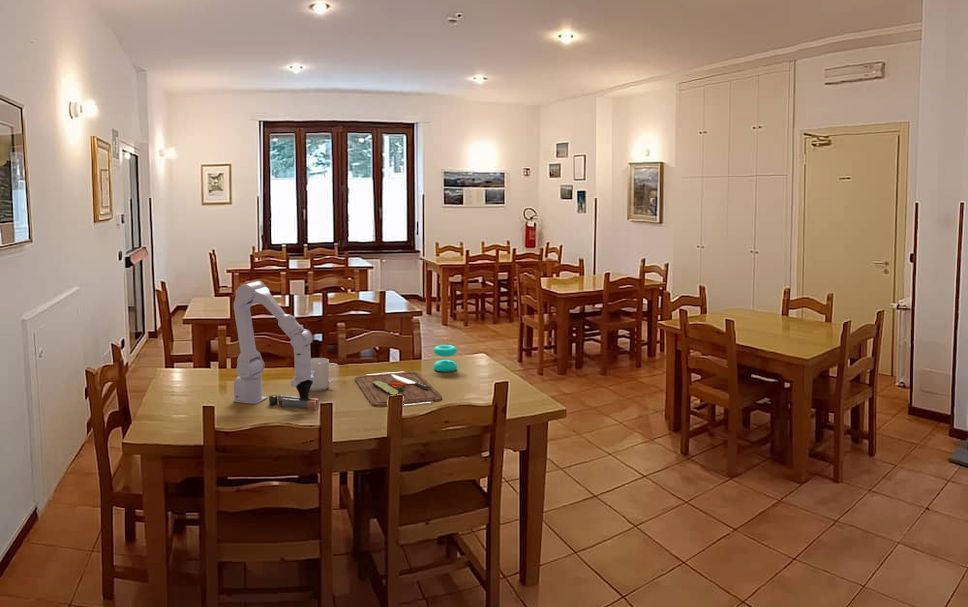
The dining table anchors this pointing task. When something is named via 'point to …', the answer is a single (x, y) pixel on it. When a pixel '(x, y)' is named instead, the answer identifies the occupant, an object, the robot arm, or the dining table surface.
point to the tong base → (293, 403)
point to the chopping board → (397, 388)
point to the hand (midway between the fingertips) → (304, 400)
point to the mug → (321, 374)
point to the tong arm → (296, 398)
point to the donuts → (445, 351)
